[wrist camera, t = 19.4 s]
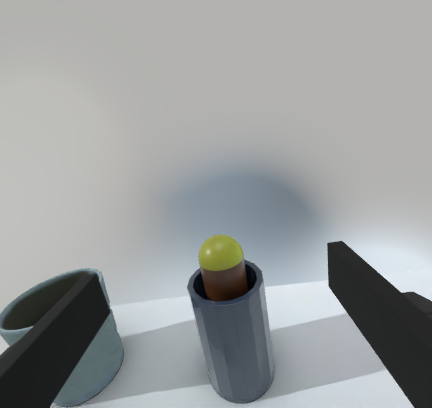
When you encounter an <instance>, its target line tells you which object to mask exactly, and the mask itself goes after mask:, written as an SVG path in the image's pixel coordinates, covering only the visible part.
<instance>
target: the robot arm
mask: <svg viewBox="0 0 432 408" xmlns="http://www.w3.org/2000/svg"><path fill="white" fill-rule="evenodd" d="M327 245H328V276H329V287H330V289H331V290H332V292H333V293H334V294H335V296H336V297H337V299H338V300H339V302H340V303H341V304H342V306H343V307H344V309H345V310H346V311H347V313H348V314H349V316H350V317H351V319H352V320H353V321H354V323H355V324H356V326H357V327H358V328H359V330H360V331H361V333H362V334H363V336H364V337H365V338H366V340H367V341H368V343H369V344H370V345H371V347H372V348H373V350H374V351H375V353H376V354H377V355H378V357H379V358H380V360H381V361H382V362H383V364H384V365H385V367H386V368H387V370H388V371H389V372H390V374H391V375H392V377H393V378H394V379H395V381H396V382H397V384H398V385H399V387H400V388H401V389H402V391H403V392H404V394H405V395H406V396H407V398H408V399H409V401H410V402H411V404H412V405H413V406H414V408H432V301H430V300H428V299H426V298H424V297H422V296H420V295H418V294H416V293H414V292H406V293H401V292H400V291H399V290H397V289H396V288H395V287H394V286H393V285H392V284H391V283H389V282H388V281H387V280H386V279H385V278H384V277H383V276H381V275H380V274H379V273H378V272H377V271H376V270H375V269H373V268H372V267H371V266H370V265H369V264H367V262H365V261H364V260H363V259H362V258H361V257H360V256H358V255H357V254H356V253H355V252H354V251H353V250H352V249H351V248H349V247H348V246H347V245H346V244H345V243H344V242H342V241H339V242H332V243H328V244H327ZM110 313H111V311H110V309H109V306H108V303H107V301H106V298H105V295H104V292H103V290H102V287H101V284H100V281H99V279H98V276H97V274H91V275H84V276H83V277H82V278H81V279H80V280H79V281H78V282H77V283H76V284H75V285H74V286H73V287H72V288H71V289H70V290H69V291H68V292H67V293H66V294H65V295H64V296H63V297H62V298H61V299H60V300H59V301H58V302H57V303H56V304H55V305H54V306H53V307H52V308H51V309H50V310H49V311H48V312H47V313H46V314H45V315H44V316H43V317H42V318H41V319H40V320H39V321H38V322H37V323H36V324H35V325H34V326H33V327H32V328H31V329H30V330H29V331H28V332H27V333H26V334H25V335H24V336H23V337H22V338H21V339H19V340H18V341H17V342H15V343H14V344H13V345H11V346H10V347H9V348H8V349H6V350H5V351H4V352H3V353H2V354H1V355H0V408H49V407H50V406H51V404H52V403H53V401H54V400H55V398H56V397H57V395H58V393H59V392H60V390H61V389H62V387H63V386H64V384H65V383H66V381H67V379H68V378H69V376H70V375H71V373H72V372H73V370H74V369H75V367H76V365H77V364H78V362H79V361H80V359H81V358H82V356H83V355H84V353H85V351H86V350H87V348H88V347H89V345H90V344H91V342H92V341H93V339H94V337H95V336H96V334H97V333H98V331H99V330H100V328H101V327H102V325H103V323H104V322H105V320H106V319H107V317H108V316H109V314H110Z"/></svg>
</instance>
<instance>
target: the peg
mask: <svg viewBox="0 0 432 408" xmlns="http://www.w3.org/2000/svg"><path fill="white" fill-rule="evenodd" d="M199 264H200V269H201V274H202V278H203V283H204V287H205V292H206V297H207V300H210V301H215V302H220V301H230V300H233V299H236V298H238V297H241V296H243V295H245V294H246V293H247V292H249V289H248V282H247V276H246V269H245V263H244V257H243V251H242V248H241V246H240V245H239V243H238V242H237V241H236V240H235V239H233V238H232V237H230V236H227V235H215V236H212V237H210V238H208V239H207V240H206V241H205V242H204V243H203V245H202V246H201V248H200V251H199Z"/></svg>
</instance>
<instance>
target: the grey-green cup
mask: <svg viewBox="0 0 432 408" xmlns="http://www.w3.org/2000/svg"><path fill="white" fill-rule="evenodd" d="M91 274H97V276H98V279H99V281H100V284H101V287H102V290H103V292H104V295H105V298H106V301H107V303H108V306H109V309H110V305H109V298H108V294H107V291H106V287H105V283H104V279H103V276H102V273H101V272H100V271H98V270H96V269H90V268H88V269H78V270H74V271H70V272H66V273H63V274H61V275H58V276H56V277H53V278H51V279H48V280H46V281H44V282H42V283H40V284H38V285H36V286H34V287H33V288H31V289H30V290H28V291H26V292H25V293H23V294H21V295H20V296H19V297H17V298H16V299H15V300H14V301H12V302H11V303H10V304H9V305H8V306H7V307H6V308H5V309H4V310H3V311H2V312H1V314H0V335H1V336H2V337H3V338H4V340H5V341H6V342H7V343H8V345H9V346H11V345H13V344H14V343H15V342H17V341H18V340H19V339H21V338H22V337H23V336H24V335H25V334H26V333H27V332H28V331H29V330H30V329H31V328H32V327H33V326H34V325H35V324H36V323H37V322H38V321H39V320H40V319H41V318H42V317H43V316H44V315H45V314H46V313H47V312H48V311H49V310H50V309H51V308H52V307H53V306H54V305H55V304H56V303H57V302H58V301H59V300H60V299H61V298H62V297H63V296H64V295H65V294H66V293H67V292H68V291H69V290H70V289H71V288H72V287H73V286H74V285H75V284H76V283H77V282H78V281H79V280H80V279H81V278H82V277H83V276H84V275H91ZM110 311H111V313H110V314H109V316H108V317H107V319H106V320H105V322H104V323H103V325H102V327H101V328H100V330H99V331H98V333H97V334H96V336H95V337H94V339H93V341H92V342H91V344H90V345H89V347H88V348H87V350H86V351H85V353H84V355H83V356H82V358H81V359H80V361H79V362H78V364H77V365H76V367H75V369H74V370H73V372H72V373H71V375H70V376H69V378H68V379H67V381H66V383H65V384H64V386H63V387H62V389H61V390H60V392H59V393H58V395H57V397H56V398H55V400H54V401H53V402H54V403H55V404H57V405H59V406H62V407H71V406H75V405H78V404H81V403H83V402H85V401H87V400H89V399H91V398H92V397H94V396H95V395H97V394H98V393H100V392H101V391H102V390H103V389H104V388H105V387H106V386H107V385H108V384H109V383H110V381H111V380H113V378H114V377H115V374H116V373H117V372H118V370H119V368H120V366H121V363H122V360H123V346H122V343H121V340H120V336H119V334H118V333H117V329H116V323H115V320H114V316H113V312H112V309H110Z"/></svg>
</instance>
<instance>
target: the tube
mask: <svg viewBox="0 0 432 408" xmlns="http://www.w3.org/2000/svg"><path fill="white" fill-rule="evenodd" d="M244 263H245V269H246V276H247V282H248V289H249V292H247V293H246V294H245V295H243V296H241V297H238V298H236V299H233V300H230V301H220V302H215V301H210V300H207V297H206V292H205V287H204V283H203V278H202V274H201V269H198V270H197V271H196V272H195V273H194V274H193V275H192V276H191V278H190V280H189V283H188V286H187V289H188V293H189V297H190V301H191V305H192V310H193V314H194V318H195V322H196V326H197V330H198V334H199V338H200V343H201V347H202V351H203V355H204V359H205V363H206V367H207V372H208V375H209V378H210V382H211V384H212V386H213V388H214V389H215V391H216V392H217V393H218V394H219V395H220V396H221V397H223V398H224V399H226V400H228V401H231V402H235V403H247V402H251V401H254V400H256V399H258V398H259V397H261V396H262V395H263V394H264V393H265V392H266V391H267V390H268V388H269V387H270V385H271V383H272V380H273V376H274V360H273V352H272V344H271V336H270V328H269V321H268V313H267V305H266V297H265V289H264V281H263V276H262V271H261V270H260V269H259V268H258V267H257V266H256V265H255V264H254V263H251V262H249V261H246V260H244Z"/></svg>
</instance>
